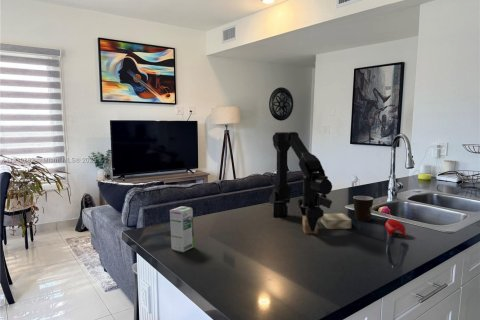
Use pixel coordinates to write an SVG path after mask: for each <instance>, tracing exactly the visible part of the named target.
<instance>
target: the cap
mask: <svg viewBox="0 0 480 320" xmlns="http://www.w3.org/2000/svg"><path fill="white" fill-rule="evenodd" d="M384 226H385V230H386V232H387V233H388V235H389V237H392V236H393V233H395V232H396V231H399V232H400V233H402V235H403V237H405V238H406V236H407V235H406V227H405V225H403V223H401V222H400V221H398V220H396V219H388V220H387V221H386V222H385V223H384Z"/></svg>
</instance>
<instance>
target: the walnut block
mask: <svg viewBox="0 0 480 320" xmlns="http://www.w3.org/2000/svg"><path fill="white" fill-rule="evenodd" d="M318 221H319V219H318V220H317V223H316V227H315V230H314V231H311V229H310V227H309V224H308V221H307V218H306V216H303V215H302V231H303V232H304V234H306V235H307V234H318V231H319V227H318V223H319V222H318Z"/></svg>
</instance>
